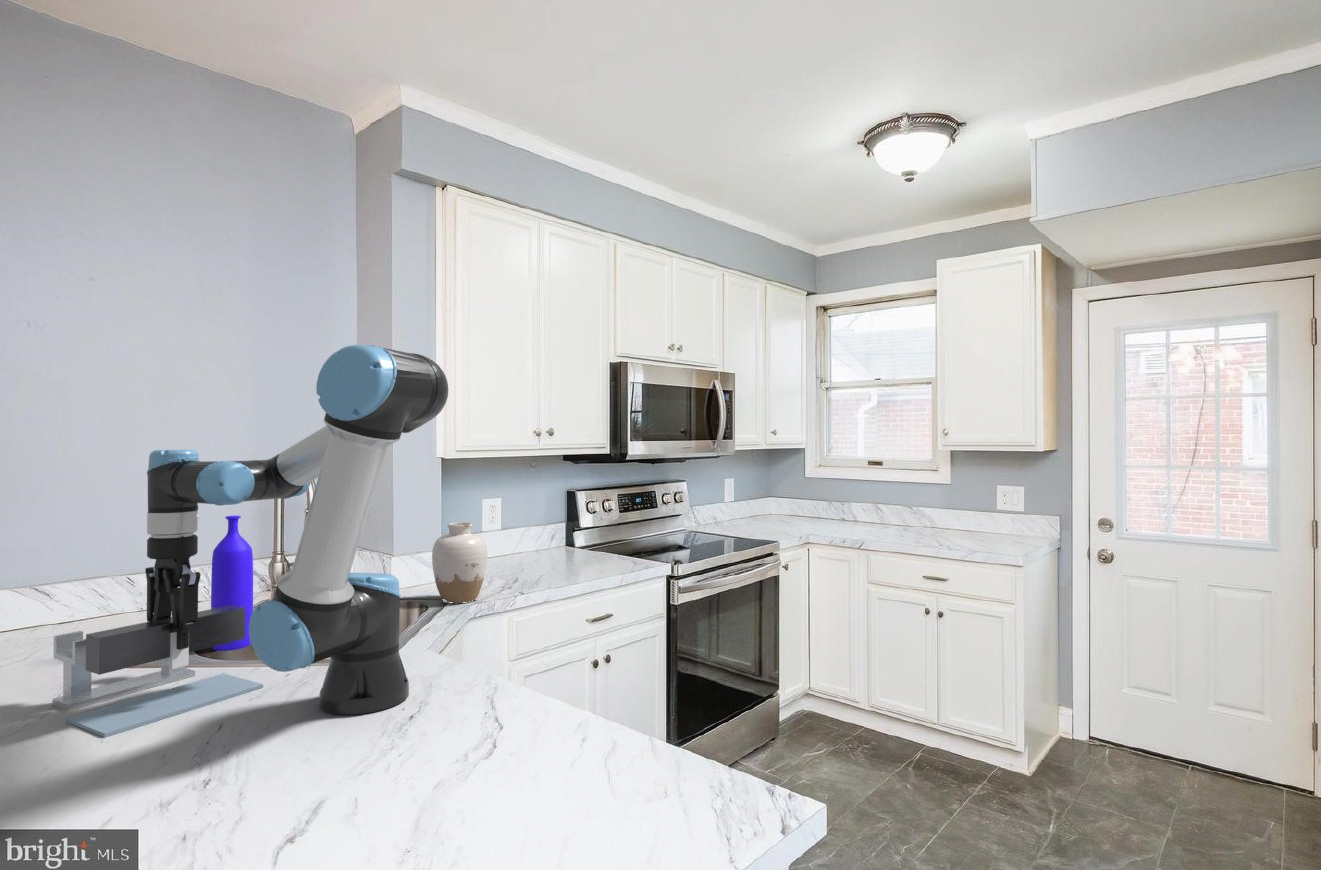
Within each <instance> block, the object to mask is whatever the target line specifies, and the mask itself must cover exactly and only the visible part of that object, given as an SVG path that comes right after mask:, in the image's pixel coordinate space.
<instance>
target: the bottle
mask: <svg viewBox="0 0 1321 870" xmlns="http://www.w3.org/2000/svg"><path fill="white" fill-rule="evenodd" d="M224 518H225V520H227V532H226V535H225V536H224V537H223V538H222V539H221V540H220V541H219V542H218V544H217V545H216V546H215V548H214V549H213V551H212V557H211V558H212V560H211V577H210V579H211V580H210V583H211V584H210V585H211V586H210V588H211V589H210V609H214V608H219V607H224V606H229V605H234V606H239V607H244V608H245V639H242V640H238V641H234V642H230V643H226V644H222V645H218V646H214V647H211V648H212V650H213V651H218V652H228V651H236V650H241V649H244V648H247V647H249V646H251V645H252V644H251V641H250V637H249V621H250V617H251V614H252V612H253V611H254V558H253V557H254V556H253V555H254V554H253V548H252V547H251V545H250V544H249V542H248V541H247V540H246V539H245V538H243V536H242V535H241V534H240V533H239V519H241V515H227V516H225V517H224Z"/></svg>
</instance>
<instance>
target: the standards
mask: <svg viewBox="0 0 1321 870" xmlns="http://www.w3.org/2000/svg"><path fill="white" fill-rule="evenodd" d="M171 617H172V612H171ZM53 659H55V660H58V661H61V662H63V663H62V664H63V669H62V670H63V671H62V672H63V674H62V675H63V676H62V684H63V686H62V689H63V691H62V696H58V697H54V698H52V701H51V702H52V703H51V704H52V706H54V707H58V708H60V709H63V710H65V711H72V710H76V709H79V708H83V707H87V706H90V705H94V704H97V703H98V704H99V703H101V702H104V701H108V700H112V699H115V698H119V697H123V696H127V695H130V694H135V693H137V692H138V693H139V692H142V691H145V690H148V689H152V688H155V687H159V686H163V685H166V684H170V683H173V682H174V683H175V682H177V681H181V680H184V679H188V678H192V677H196V670H195V669H190V668H187V667H186V666H187V665H186V666H182V667H178V668H175V669H170V661H168V662H164V663H160V664H161V667H160V669H161V670H158V671H154V672H150V673H147V674H144V675H143V674H142V675H138V676H136V677H132V678H127V679H123V680H120V681H119V680H118V681H117V682H112V683H108V684H104V685H101V686H97V687H93V688H92V672H89V671H86V638H84V631H83V630H78V631H73V632H67V633H63V634H57V635H53Z"/></svg>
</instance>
